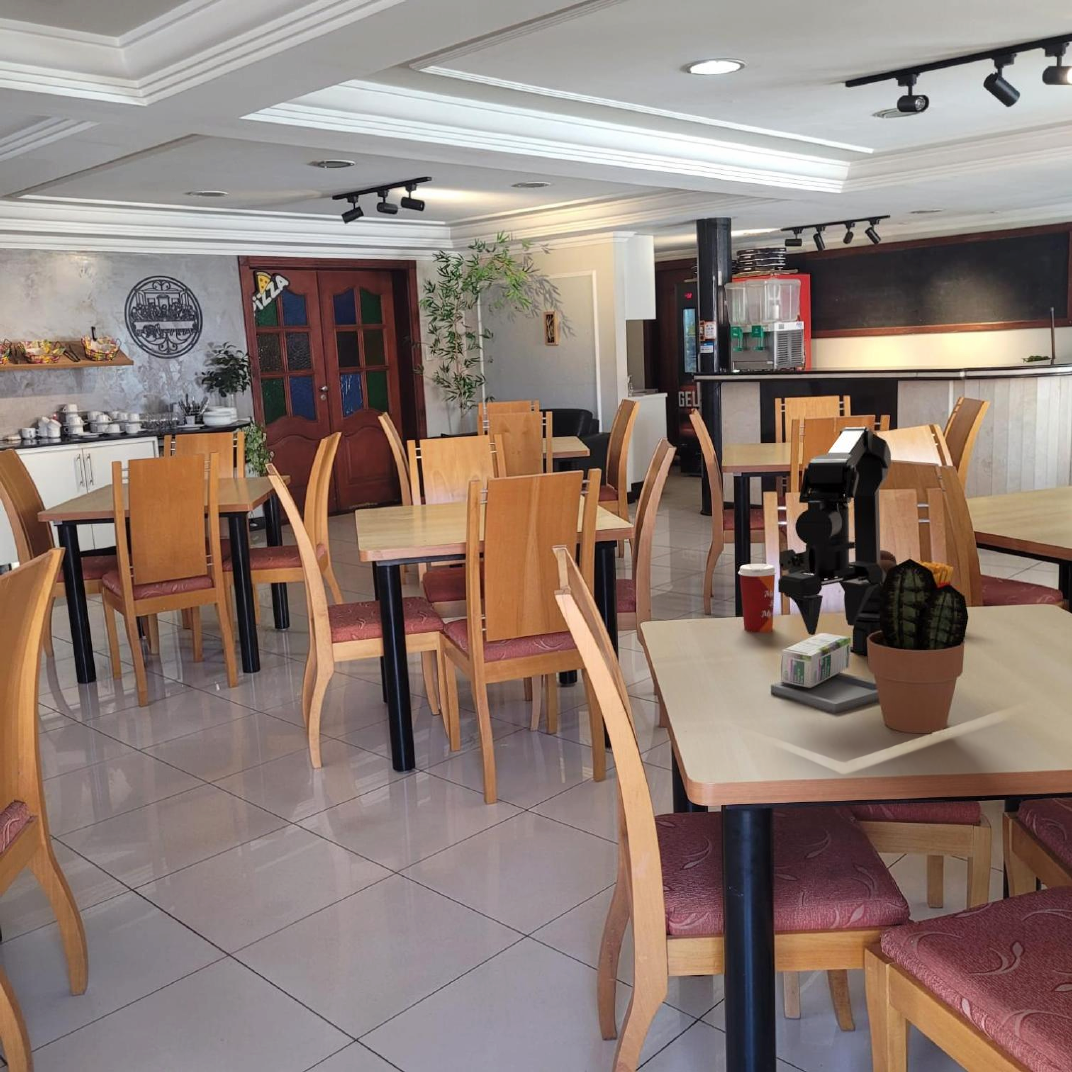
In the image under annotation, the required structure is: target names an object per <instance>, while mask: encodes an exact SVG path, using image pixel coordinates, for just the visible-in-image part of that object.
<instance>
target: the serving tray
mask: <svg viewBox="0 0 1072 1072" xmlns="http://www.w3.org/2000/svg"><path fill="white" fill-rule="evenodd" d="M770 695H774V696H777V697H780V698H784V699H786V700H790V701H794V702H797V703H800V704H803V705H807V706H810V707H813V708H816V709H820V710H823V711H826V712H828V713H832V714H838V713H841V712H845V711H848V710H852V709H855V708H858V707H861V706H866V705H868V704H871V703H874V702H880V701H879V696H878V691H877V687H876V682H875V680H870V679H868V678H867V679H866V678H863V677H859V676H856V675H855V676H854V675H851V674H849V673H848V674H847V673H843V672H840V673H838V674H836V675H834V676H832V677H830V678H828V679H826V680H824V681H823V682H821V683H819V684H817V685H815V686H813V687H811V688H809V687H804V686H799V685H794V684H789V683H784V682H781V681H780V682H777V683H773V684H770Z"/></svg>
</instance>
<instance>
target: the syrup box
mask: <svg viewBox="0 0 1072 1072" xmlns="http://www.w3.org/2000/svg"><path fill="white" fill-rule="evenodd" d="M850 647H851V637H849V636H844V635H837V634H831V633H825V632H820V633H818V634H815V635H812V636H811V637H809V638H807V639H806V638H805V639H804V640H802V641H801V642H798V643H795V644H794V645H793V644H792V645H791V646H789V647H787V648H784V649H782V650H781V665H780V673H781V674H780V682H784V683H789V684H794V685H799V686H804V687H809V688H811V687H813V686H815V685H817V684H819V683H821V682H823V681H824V680H826V679H828V678H830V677H832V676H834V675H836V674H838V673H842V672H843V671H845V670H846V671H847V670H848V669H850V663H851V662H850V661H851V651H850Z"/></svg>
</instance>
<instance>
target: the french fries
mask: <svg viewBox="0 0 1072 1072" xmlns="http://www.w3.org/2000/svg"><path fill="white" fill-rule="evenodd" d="M914 561H915V562H917V563H919V564H921V565H923V566H924V567H926V568H928V569H929V570H931V571H932V574H933V576H934V579H935V582H936V584H937V587H938V588H939V587H942V586H945V585H947V584H950V585H951V584H952V581H951V580H950V579H951V576H952V574H953V572H954V567H953V566H950V565H947V564H946V563H944V562H942V563H941V562H936V561H934V560H933V561H932V562H931V563H930V562H928V561H927V562H926V561H922V560H917V561H916V560H914Z"/></svg>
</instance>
